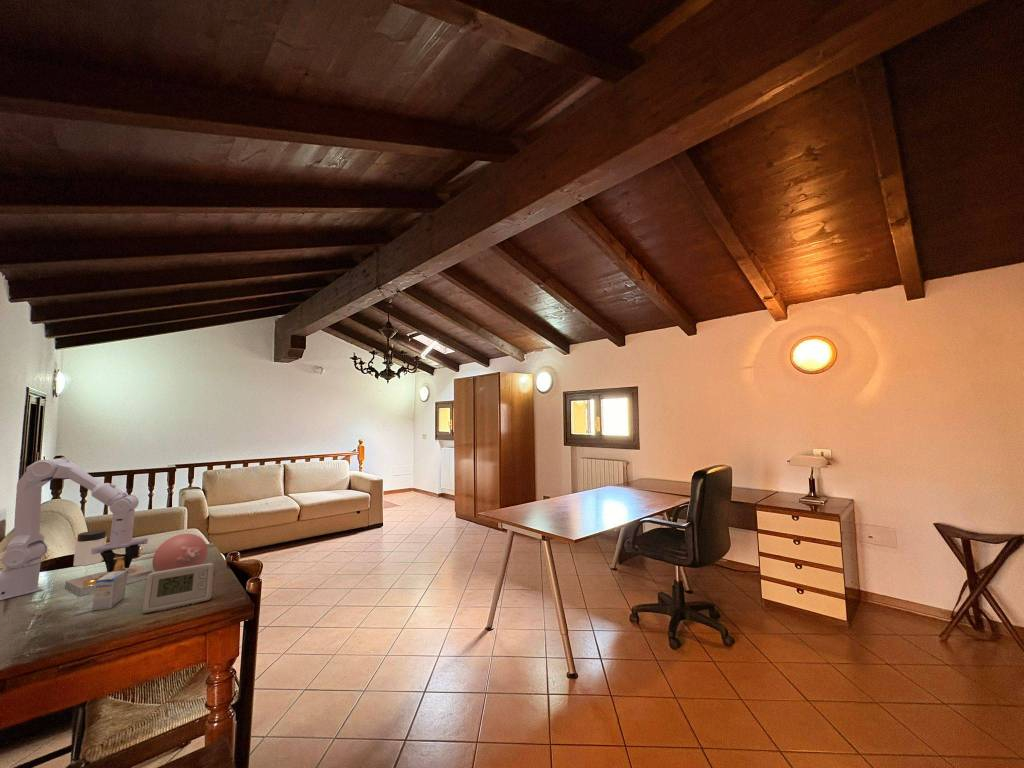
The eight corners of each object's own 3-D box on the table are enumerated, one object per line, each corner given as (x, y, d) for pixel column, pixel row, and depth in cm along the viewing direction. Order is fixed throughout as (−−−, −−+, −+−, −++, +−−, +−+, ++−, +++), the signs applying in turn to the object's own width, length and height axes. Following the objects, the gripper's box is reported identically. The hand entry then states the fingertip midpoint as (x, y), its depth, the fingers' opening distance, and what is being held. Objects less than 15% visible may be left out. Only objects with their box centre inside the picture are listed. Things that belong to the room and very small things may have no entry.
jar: (100, 558, 165) (103, 528, 167) (108, 560, 161) (111, 530, 163) (69, 564, 157) (73, 533, 159) (76, 567, 154) (80, 536, 155)
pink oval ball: (159, 593, 128) (164, 545, 130) (145, 580, 140) (149, 535, 142) (216, 579, 140) (219, 534, 142) (198, 567, 152) (202, 527, 154)
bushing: (112, 578, 137) (114, 560, 138) (107, 576, 139) (108, 559, 139) (127, 574, 141) (128, 557, 141) (121, 573, 142) (123, 555, 143)
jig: (79, 596, 126) (81, 585, 127) (64, 588, 133) (66, 577, 133) (150, 577, 142) (151, 567, 143) (134, 571, 149) (135, 561, 149)
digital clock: (138, 616, 113) (141, 577, 114) (151, 603, 121) (155, 567, 122) (206, 605, 119) (209, 569, 120) (215, 594, 127) (218, 560, 129)
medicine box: (106, 600, 123) (109, 571, 124) (124, 598, 125) (127, 569, 126) (91, 611, 116) (94, 580, 117) (111, 608, 118) (114, 578, 119)
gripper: (98, 536, 133) (93, 578, 132) (152, 527, 146) (149, 565, 144) (90, 534, 136) (86, 574, 135) (144, 525, 149) (140, 562, 148)
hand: (118, 569), depth 140 cm, fingers closed on bushing, 4 cm apart
